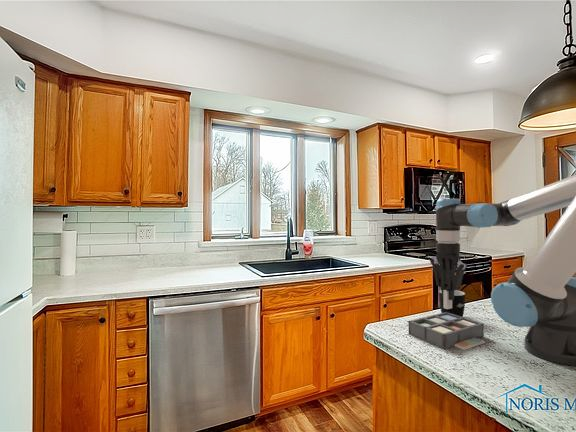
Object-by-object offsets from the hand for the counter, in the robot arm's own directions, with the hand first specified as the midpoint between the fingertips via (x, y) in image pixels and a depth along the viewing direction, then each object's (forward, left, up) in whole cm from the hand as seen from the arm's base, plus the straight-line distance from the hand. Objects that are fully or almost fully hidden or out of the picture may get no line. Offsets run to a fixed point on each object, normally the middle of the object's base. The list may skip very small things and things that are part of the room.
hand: (447, 308), depth 107 cm
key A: (0, 0, -5) cm, 5 cm away
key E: (0, +12, -6) cm, 13 cm away
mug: (+7, -13, -8) cm, 16 cm away
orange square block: (-6, +6, -6) cm, 11 cm away
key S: (-6, +12, -5) cm, 15 cm away
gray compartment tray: (-5, +6, -7) cm, 11 cm away
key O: (-6, 0, -5) cm, 8 cm away
